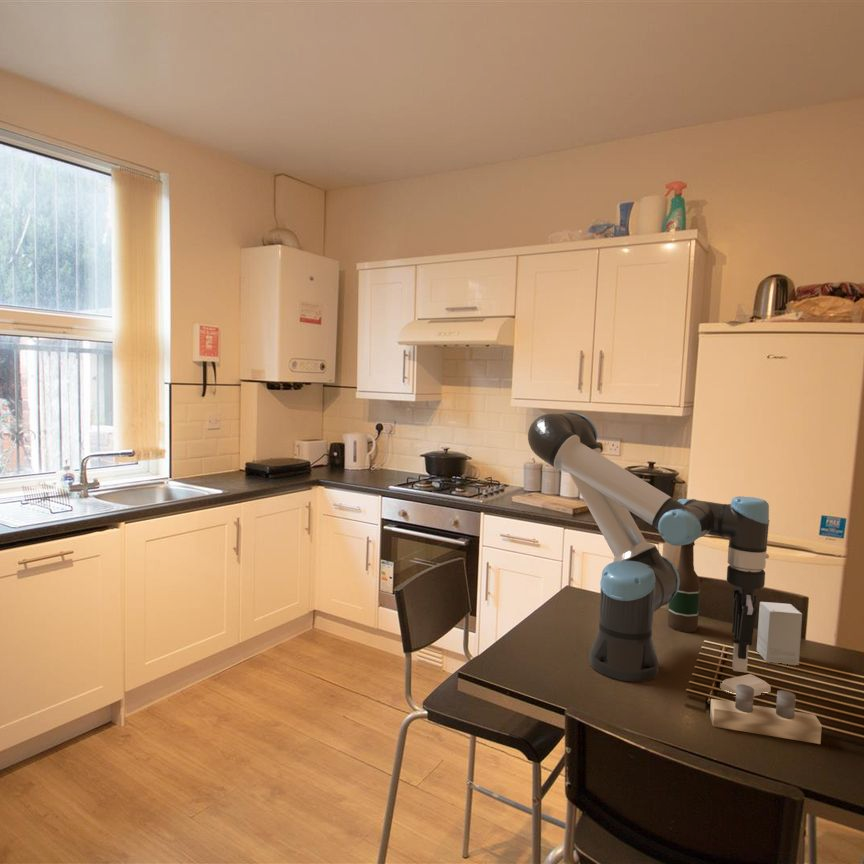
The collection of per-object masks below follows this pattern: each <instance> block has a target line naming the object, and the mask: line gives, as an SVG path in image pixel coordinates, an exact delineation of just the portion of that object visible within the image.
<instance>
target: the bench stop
mask: <svg viewBox="0 0 864 864" xmlns="http://www.w3.org/2000/svg"><path fill="white" fill-rule="evenodd" d="M796 697H797V696H796V694H795V693H793V692H791V691H788V690H784V689H783V690H782V689H781V690H777V692H776V702H775V703H776V706H775V707H776V708H773V707H767V706H761V705H754V700H755V699H754V698H755V696H754V689H753V688H752V687H750V686H748V685H743V684H739V685H737V686H736V697H735V701H730V700H729V701H728V700H722V699H715V698H710V708H709V709H710V710H709V712H710V713H709V718H710V720H711V724H712V727H715V728H719V729H720V728H721V729H728V730H733V731H738V732H739V731H740V732H745V733H746V732H747V733H751V734H758V735H764V736H770V737H775V738H782V739H786V740H787V739H788V740H792V741H801V742H805V743H810V744H811V743H812V744H816V745H817V744H818V745H821V743H822V742H821V741H822V727H823V726H822V725H823V724H821V722H820V720H819V719H818V718H817V716H816V715H815V714H812V713H808V712H800V711H795V710H796V699H797V698H796Z"/></svg>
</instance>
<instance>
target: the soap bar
mask: <svg viewBox="0 0 864 864" xmlns="http://www.w3.org/2000/svg"><path fill="white" fill-rule="evenodd" d="M721 682H724V683H721ZM721 682H720V686H719V689H720V688H721V689H720V690H722V689H725V690H727V691H729V692H732V693H736V686H737V685H739V684H743V685H748V686H750V687H752V688H753V689H754V697H757V696H760V695H761V693H763V692H770V693H771V688H772V686H771V685H770V684H769V683H768V682H766V681H765V680H763V679H761V678H759V677H758V676H756V675H753V674H752V673H750V674H745V675H738V676H735V677H730V678H726V679H724V680H723V681H721ZM761 696H762V695H761ZM733 697H734V698H736V696H733Z"/></svg>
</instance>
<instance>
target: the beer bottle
mask: <svg viewBox="0 0 864 864" xmlns="http://www.w3.org/2000/svg"><path fill="white" fill-rule="evenodd" d="M695 545H696V544H695V541H694V542H692V543H690V544H686V545H682V546H680V551H679V562H678V566H677V568H676V569H677V571H678V573H679V578H680V585H679V589H678V592H677V593H676V595H675V596H674V598H673V599H672V600H671V601H670V602H669V603H668V615H667V617H668V618H667V621H668V622H667V626H668V627H669V628H671V629H673V630H675V631H677V630H678V632H682V631H683V633H694V632H696V631H697V628H698V625H699V609H700V591H701V582H700V579H699V576H698V574H697V572H696V571H695V565H694V555H695V554H694V546H695Z"/></svg>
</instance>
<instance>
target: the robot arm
mask: <svg viewBox="0 0 864 864" xmlns="http://www.w3.org/2000/svg"><path fill="white" fill-rule="evenodd" d="M597 439H598V431H597V428H596V426H595V424H594V423H593V421H592V420H591V419H590V418H589V417H587V416H585V415H583V414H579V413H577V412H564V413H563V412H562V413H554V412H553V413H545V414H542V415H540V416H538V417H537V418H536V419H534V420H533V422H532V423H531V424H530V426H529V428H528V433H527V441H528V442H527V443H528V444H529V447H530V449H531V450H532V452H533V454H534V455H536V457H538V458H539V459H541V460H542V461H544V462H545V463H547V464H548V465H549V466H551V467H553V468H555V470H560V471H563V472H566V473H568V474H569V475H570V477H571V478H572V481H573V482H574V485H575V486H576V488H577V490H578V492H579V494H580V496H581V498H582V499H583V500H584V503H585V504H586V507H587V509H589V512H590V514H591V515H592V518H593V519H594V521H595V523H596V525H597V527H598V528H599V530H600V532H601V534H602V537H604V540H605V542H606V543H607V545H608V547H609V549H610V551H611V553H612V554H613V557H614V558H613V561H612V562H610V563H608V564H606V565H605V567H603V569H602V572H601V576H600V577H601V578H600V583H599V585H600V591H599V592H600V595H599V598H600V600H599V618H598V620H599V621H598V623H599V624H598V632H597V633H596V636H595V639H594V641H593V644H592V646H591V649H590V651H589V664H590V667H592V668H593V670H595V671H596V672H598V673H599V674H601V675H603V676H606V677H609V678H612V679H615V680H619V681H624V682H625V681H626V682H646V681H651V680H652V679H654V678H656V677H657V676H658V674H659V660H658V655H657V652H656V648H655V646H654V641H653V623H654V622H653V621H654V619H653V617H654V613H655V612H656V611H657V610H659V609H660V608H661V607H664V606H665V605H669V602H670V601H671V600H672V599H673V598H674V596H675V595H676V593H677V592H678V589H679V585H680V578H679V573H678V571H677V569H678V568H677V567H676V566H675V564H674V563H673V562H672V561H671V560H669V558H666V557H665V556H663V555H662V554H661V553H660V551H659V550H658V547H657V546H656V544H654V543H650V542H648V541H647V540H646V539H645V537H644V536H643V534H642V532H641V530H640V528H639V527H638V525H637V523H636V521H635V520H634V518H633V516H632V515H631V514H633V515H634V516H637V517H638V518H639V519H641V520H643V521H645V522H646V523H648V524H649V525H651V526H653V527H654V528H655V529H657V530H658V533H659V535H660V537H661V538H662V540H664V541H665V542H666V543H668V544H669V545H672V546H674V547H675V546H676V547H679V546H680V547H681V546H682V545H686V544H690V543H692V542H694V543H695V541H696V540H697V539H700V538H702V537H704V536H706V535H708V536H714V537H721V538H727V539H728V540H729V541H728V547H727V548H728V549H727V564H728V566H727V568H726V570H727V571H726V582H727V583H728V584H729V585H731V586H734V587H735V589H732V590H731V594H732V625H731V626H732V629H731V631H732V634H733V639H732V644H733V652H732V666H731V668H732V671H734V672H740V673H748V662H749V661H748V659H749V647H750V646H752V644H753V635H754V629H755V623H756V622H755V621H756V616H757V612H758V608H757V606H755V605H756V603H757V596H756V595H755V593H754V591H755V590H759V589H763V588H764V587H765V581H766V572H765V570H764V569H766V562H767V560H768V559H769V558H770V555H769V554H768V553H767V551H768V549H767V548H768V538H769V537H768V536H769V526H770V518H769V517H770V515H769V514H770V513H769V512H770V505H769V502H767V501H766V500H765V499H762V498H760V497H754V496H753V497H752V496H733V497H732V498H731V501H730V503H728V504H727V503H719V502H713V501H712V502H711V501H704V500H699V499H695V498H691V499H690V498H679V499H678V500H676V499H674V498H672V497H671V496H670V495H668V494H667V493H665V492H663V491H662V490H660V489H659V488H656V487H655V486H653V485H651V484H650V483H648V482H647V481H646V480H643V479H641V478H640V477H639V476H637V475H635V474H634V473H632V472H631V471H629V470H627V469H625V468H624V467H622V466H620V465H619V464H617V463H615V462H614V461H612V460H611V459H608V458H607V457H606V456H604V455H602V454H601V451H602V449H601V447H600V446H599V444H598V442H597V441H598V440H597ZM766 559H767V560H766Z"/></svg>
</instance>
